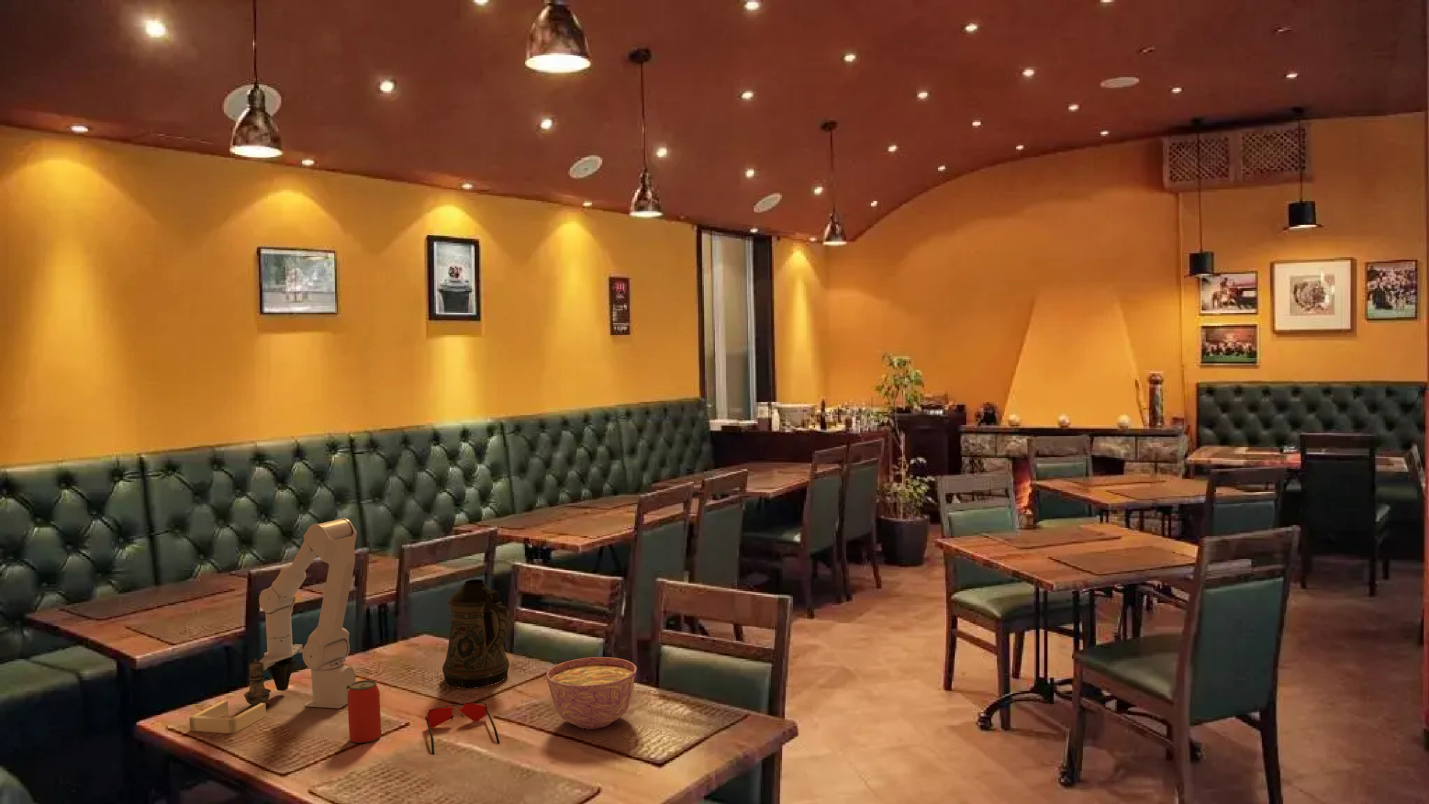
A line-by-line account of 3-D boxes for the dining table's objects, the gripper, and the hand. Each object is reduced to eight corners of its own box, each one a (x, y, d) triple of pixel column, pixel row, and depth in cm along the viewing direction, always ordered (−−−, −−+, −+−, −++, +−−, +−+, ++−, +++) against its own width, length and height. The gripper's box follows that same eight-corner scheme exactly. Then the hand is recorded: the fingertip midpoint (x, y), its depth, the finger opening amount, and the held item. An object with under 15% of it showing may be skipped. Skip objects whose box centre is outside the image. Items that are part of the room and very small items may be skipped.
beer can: (352, 746, 216) (349, 691, 216) (347, 736, 222) (344, 682, 221) (384, 740, 219) (381, 685, 219) (378, 730, 225) (376, 677, 225)
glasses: (488, 719, 231) (487, 697, 231) (500, 745, 216) (499, 722, 215) (424, 729, 226) (423, 707, 226) (432, 756, 211) (430, 733, 210)
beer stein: (458, 667, 268) (453, 573, 267) (529, 668, 266) (525, 573, 264) (432, 688, 252) (427, 588, 251) (507, 690, 249) (503, 589, 248)
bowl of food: (657, 719, 227) (655, 668, 226) (588, 747, 212) (585, 692, 212) (598, 699, 240) (596, 651, 240) (529, 724, 226) (527, 673, 225)
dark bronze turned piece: (261, 712, 239) (258, 662, 238) (239, 711, 240) (236, 661, 239) (276, 703, 244) (274, 654, 244) (255, 702, 246) (252, 653, 245)
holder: (266, 715, 236) (265, 703, 236) (233, 733, 226) (233, 720, 226) (224, 713, 239) (223, 700, 239) (190, 730, 229) (189, 717, 228)
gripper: (284, 626, 258) (287, 679, 259) (245, 643, 244) (248, 699, 245) (308, 627, 256) (311, 680, 257) (270, 644, 242) (273, 700, 243)
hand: (282, 689), depth 251 cm, fingers closed
